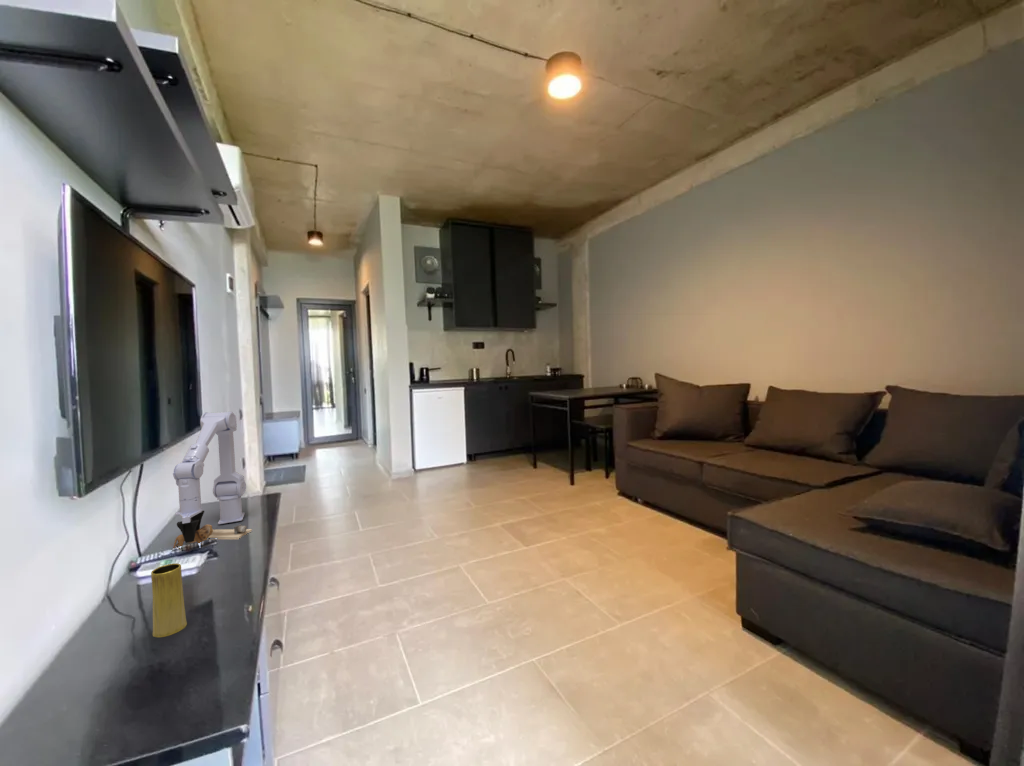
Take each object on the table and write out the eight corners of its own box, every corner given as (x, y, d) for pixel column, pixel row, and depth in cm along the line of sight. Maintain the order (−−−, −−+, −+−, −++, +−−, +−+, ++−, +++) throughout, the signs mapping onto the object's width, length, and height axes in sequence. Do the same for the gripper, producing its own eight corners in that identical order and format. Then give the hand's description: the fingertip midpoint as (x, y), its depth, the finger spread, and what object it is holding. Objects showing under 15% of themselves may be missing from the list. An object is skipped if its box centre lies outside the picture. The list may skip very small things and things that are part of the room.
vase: (145, 640, 92) (141, 576, 91) (163, 623, 98) (159, 564, 97) (177, 636, 93) (173, 573, 92) (192, 619, 99) (189, 560, 98)
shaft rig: (196, 532, 155) (196, 522, 154) (252, 531, 154) (251, 522, 153) (181, 540, 148) (180, 530, 147) (238, 539, 147) (238, 529, 146)
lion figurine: (214, 542, 145) (213, 521, 144) (212, 547, 141) (211, 525, 141) (170, 551, 139) (169, 529, 138) (167, 556, 135) (166, 533, 135)
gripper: (180, 494, 144) (182, 533, 144) (169, 505, 131) (171, 548, 132) (205, 490, 147) (207, 528, 148) (196, 501, 134) (199, 543, 135)
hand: (192, 537), depth 140 cm, fingers open, 7 cm apart
